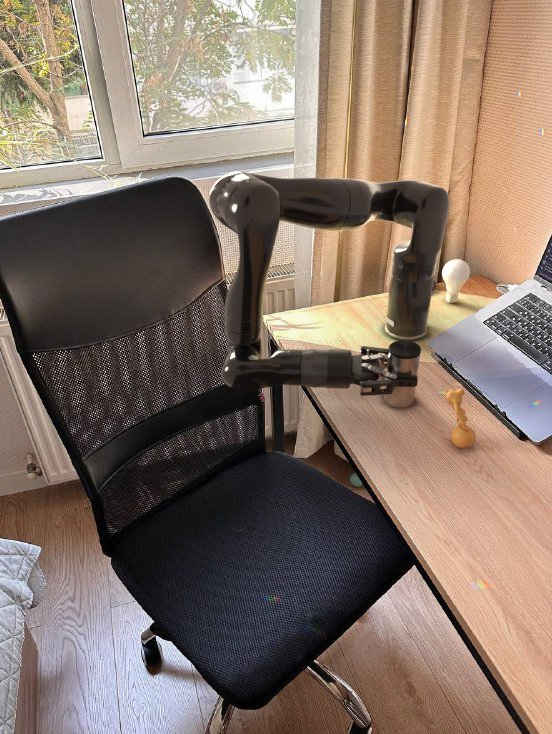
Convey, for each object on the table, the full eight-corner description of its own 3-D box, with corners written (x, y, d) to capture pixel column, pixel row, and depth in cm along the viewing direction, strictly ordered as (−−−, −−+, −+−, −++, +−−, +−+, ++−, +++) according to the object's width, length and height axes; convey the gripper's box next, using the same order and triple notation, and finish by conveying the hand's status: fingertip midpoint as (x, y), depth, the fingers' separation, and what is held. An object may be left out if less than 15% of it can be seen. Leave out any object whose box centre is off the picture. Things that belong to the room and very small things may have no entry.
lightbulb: (469, 301, 145) (476, 259, 139) (456, 310, 141) (464, 267, 135) (445, 294, 149) (452, 253, 142) (433, 303, 145) (439, 261, 139)
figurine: (478, 461, 99) (491, 404, 92) (441, 460, 99) (452, 403, 92) (468, 430, 105) (480, 375, 98) (434, 429, 106) (443, 374, 99)
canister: (383, 389, 117) (388, 339, 110) (413, 391, 116) (420, 340, 109) (384, 407, 112) (389, 356, 105) (415, 408, 111) (422, 357, 104)
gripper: (324, 372, 104) (422, 376, 102) (327, 332, 116) (415, 335, 113) (323, 406, 109) (417, 410, 106) (326, 364, 120) (411, 367, 118)
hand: (415, 371), depth 110 cm, fingers closed on canister, 5 cm apart
